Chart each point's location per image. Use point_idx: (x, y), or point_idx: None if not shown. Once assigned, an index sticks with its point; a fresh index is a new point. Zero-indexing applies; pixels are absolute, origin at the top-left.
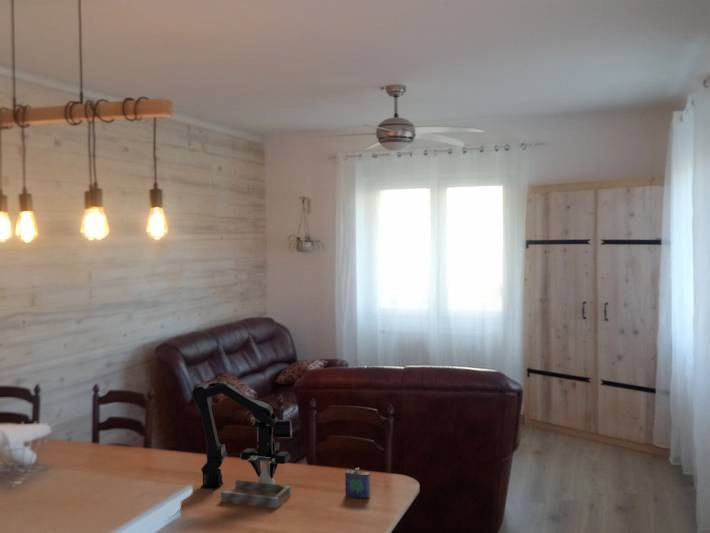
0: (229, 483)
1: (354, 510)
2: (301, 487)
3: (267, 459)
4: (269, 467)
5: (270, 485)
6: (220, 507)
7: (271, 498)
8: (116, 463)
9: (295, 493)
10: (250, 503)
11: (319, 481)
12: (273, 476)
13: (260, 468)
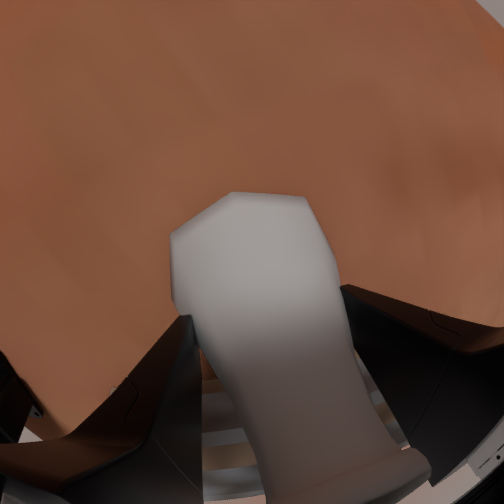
0: (11, 336)
1: None
2: (470, 195)
3: (380, 487)
4: (348, 347)
5: (380, 402)
6: None
7: (406, 445)
8: None
9: (459, 280)
10: None
11: (497, 91)
12: (359, 291)
13: (175, 371)
